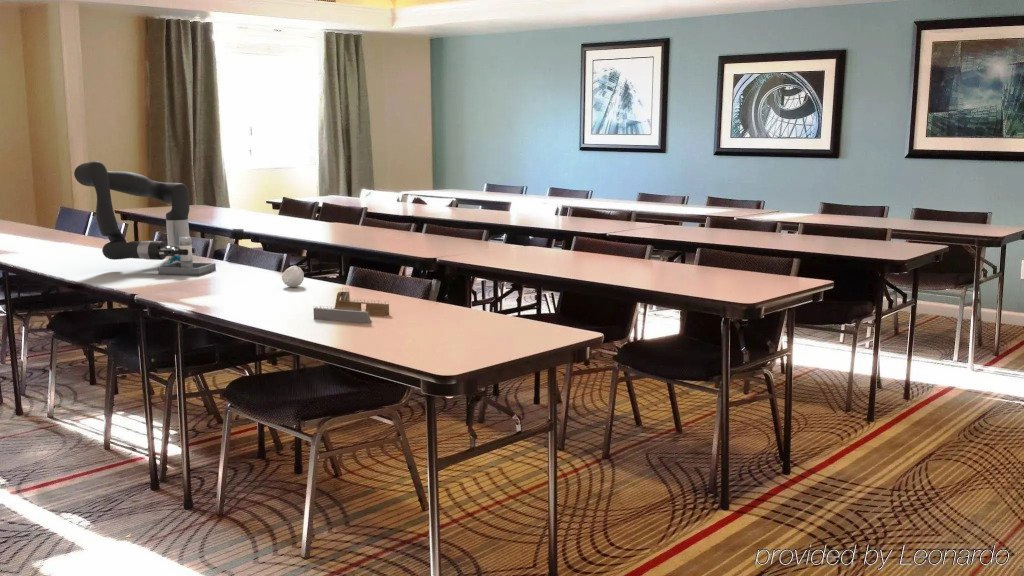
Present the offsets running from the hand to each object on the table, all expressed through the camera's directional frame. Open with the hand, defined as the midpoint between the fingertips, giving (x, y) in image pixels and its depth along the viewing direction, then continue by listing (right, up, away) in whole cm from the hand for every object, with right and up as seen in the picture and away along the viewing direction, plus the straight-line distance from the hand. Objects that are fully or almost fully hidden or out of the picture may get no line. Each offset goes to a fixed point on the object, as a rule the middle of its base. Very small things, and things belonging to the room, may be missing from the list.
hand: (190, 251), depth 376 cm
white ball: (+49, -15, -31) cm, 60 cm away
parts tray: (-2, -9, +2) cm, 9 cm away
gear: (-14, -5, +21) cm, 26 cm away
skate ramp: (+81, -24, -78) cm, 115 cm away
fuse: (-2, -6, +2) cm, 7 cm away
